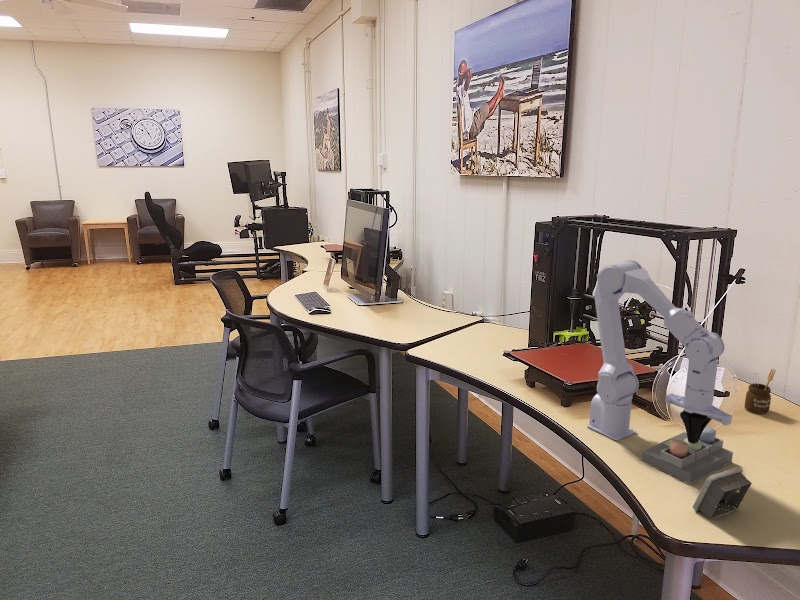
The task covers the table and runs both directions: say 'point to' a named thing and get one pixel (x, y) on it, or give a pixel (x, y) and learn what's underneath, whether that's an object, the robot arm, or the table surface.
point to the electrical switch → (722, 493)
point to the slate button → (708, 435)
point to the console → (688, 459)
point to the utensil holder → (759, 396)
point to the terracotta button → (678, 448)
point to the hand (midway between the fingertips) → (693, 441)
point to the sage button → (694, 445)
